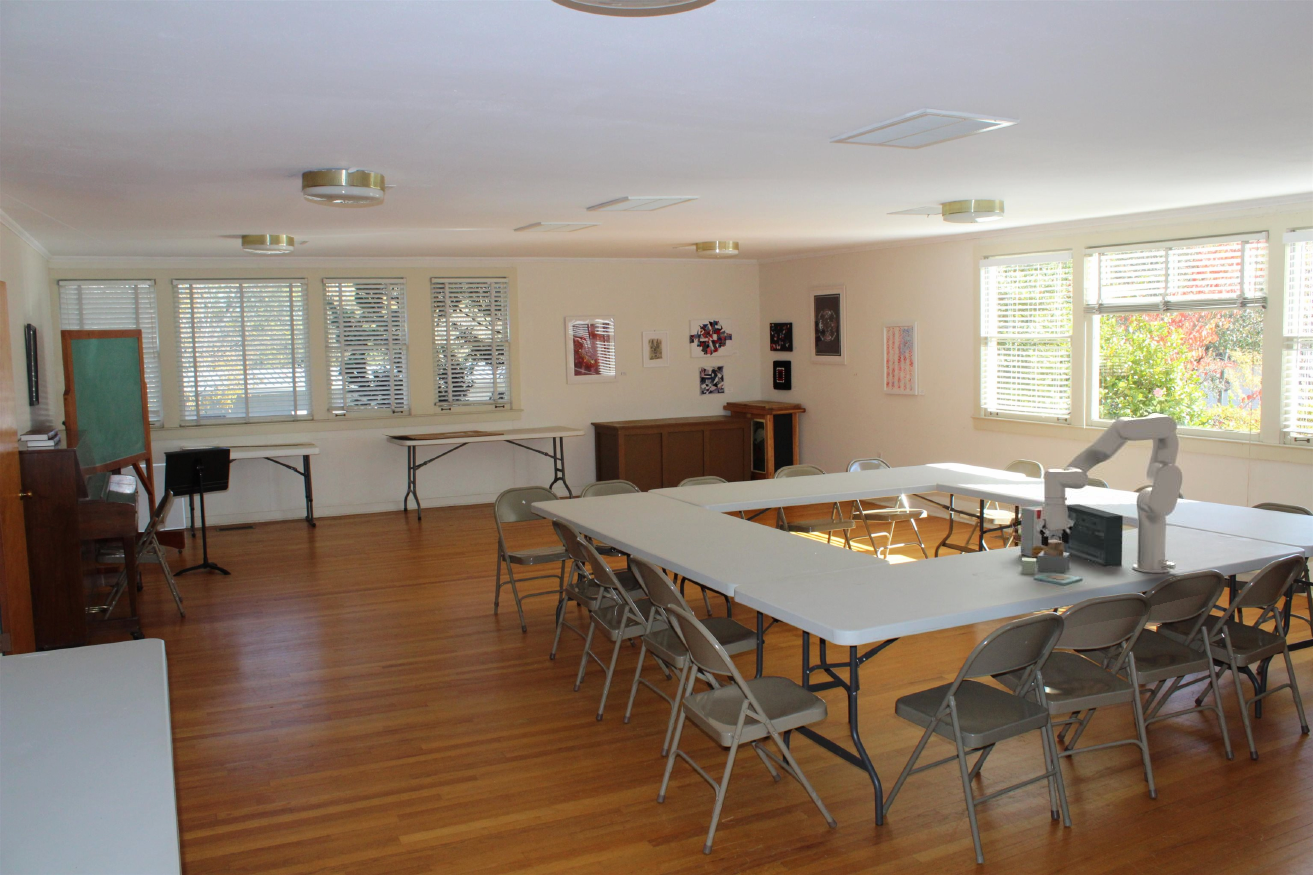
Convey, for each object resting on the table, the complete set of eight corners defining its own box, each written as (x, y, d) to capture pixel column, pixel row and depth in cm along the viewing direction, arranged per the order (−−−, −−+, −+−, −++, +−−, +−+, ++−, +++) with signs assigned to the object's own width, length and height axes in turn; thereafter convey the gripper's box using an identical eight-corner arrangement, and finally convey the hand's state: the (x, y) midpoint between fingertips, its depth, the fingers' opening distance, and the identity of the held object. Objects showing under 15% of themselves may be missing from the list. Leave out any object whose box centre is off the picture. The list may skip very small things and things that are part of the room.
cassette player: (1121, 565, 363) (1122, 515, 361) (1105, 566, 362) (1106, 516, 361) (1078, 550, 392) (1078, 504, 390) (1062, 551, 391) (1063, 504, 389)
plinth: (1069, 567, 363) (1069, 552, 363) (1065, 573, 355) (1065, 557, 354) (1042, 565, 368) (1042, 550, 368) (1037, 570, 360) (1037, 555, 360)
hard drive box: (1031, 557, 381) (1032, 510, 379) (1019, 554, 388) (1020, 507, 386) (1063, 554, 385) (1064, 507, 383) (1051, 551, 392) (1051, 504, 390)
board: (1082, 579, 343) (1082, 577, 342) (1064, 585, 336) (1064, 582, 336) (1052, 574, 352) (1052, 571, 352) (1034, 579, 345) (1034, 576, 345)
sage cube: (1035, 571, 358) (1036, 558, 358) (1035, 573, 354) (1035, 561, 353) (1022, 570, 360) (1022, 557, 360) (1021, 573, 356) (1021, 560, 355)
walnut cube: (1054, 552, 364) (1054, 539, 364) (1063, 554, 360) (1063, 541, 359) (1043, 553, 363) (1043, 540, 363) (1052, 555, 358) (1052, 542, 358)
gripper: (1065, 497, 365) (1066, 540, 367) (1029, 501, 360) (1030, 544, 362) (1080, 500, 358) (1080, 543, 360) (1043, 504, 353) (1043, 548, 354)
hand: (1055, 544), depth 361 cm, fingers open, 9 cm apart
